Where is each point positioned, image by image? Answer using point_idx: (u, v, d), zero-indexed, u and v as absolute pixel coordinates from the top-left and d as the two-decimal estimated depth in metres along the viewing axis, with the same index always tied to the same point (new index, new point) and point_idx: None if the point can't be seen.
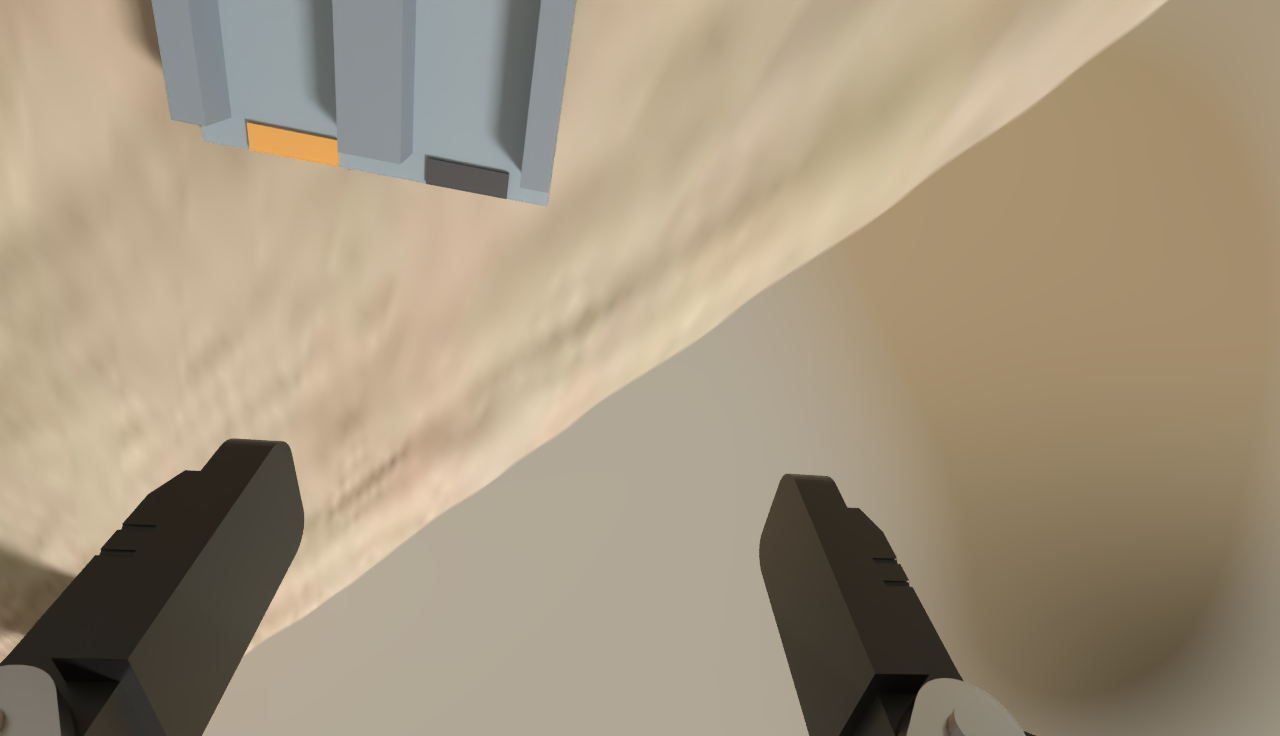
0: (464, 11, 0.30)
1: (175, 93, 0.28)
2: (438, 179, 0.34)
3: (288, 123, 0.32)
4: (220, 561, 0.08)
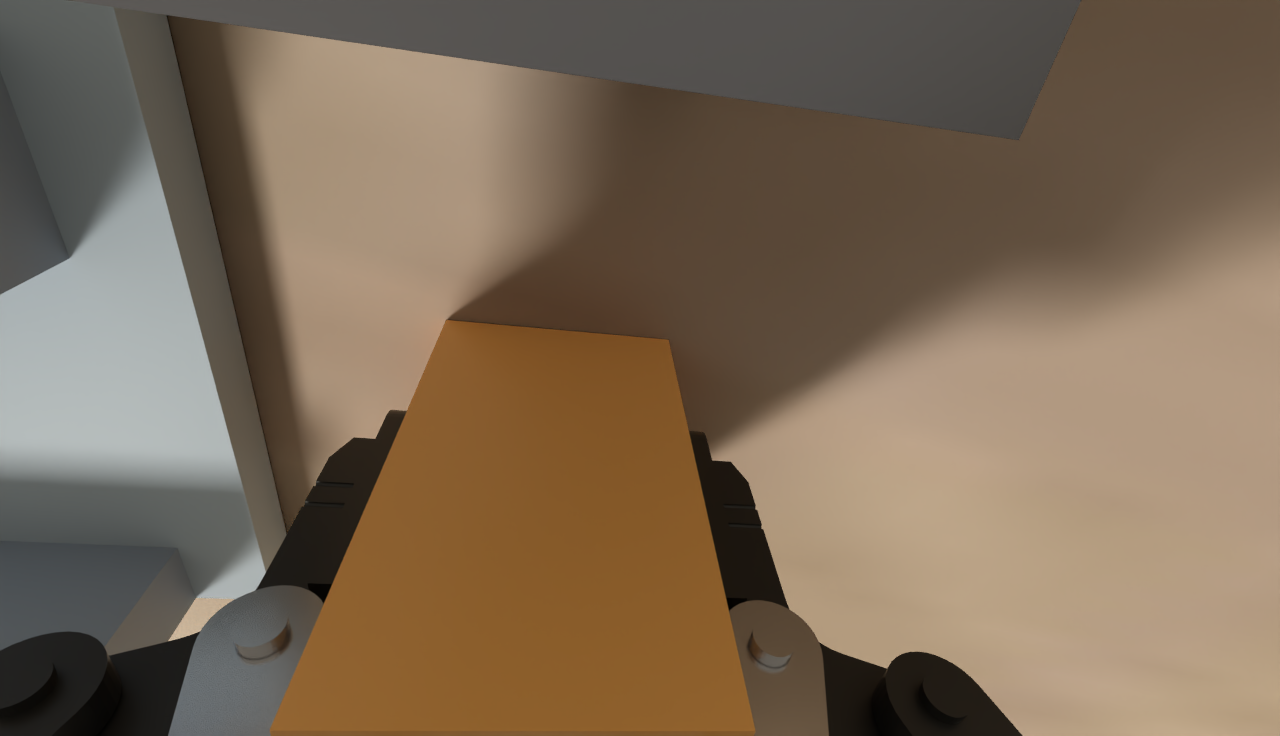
0: None
1: None
2: None
3: None
4: None
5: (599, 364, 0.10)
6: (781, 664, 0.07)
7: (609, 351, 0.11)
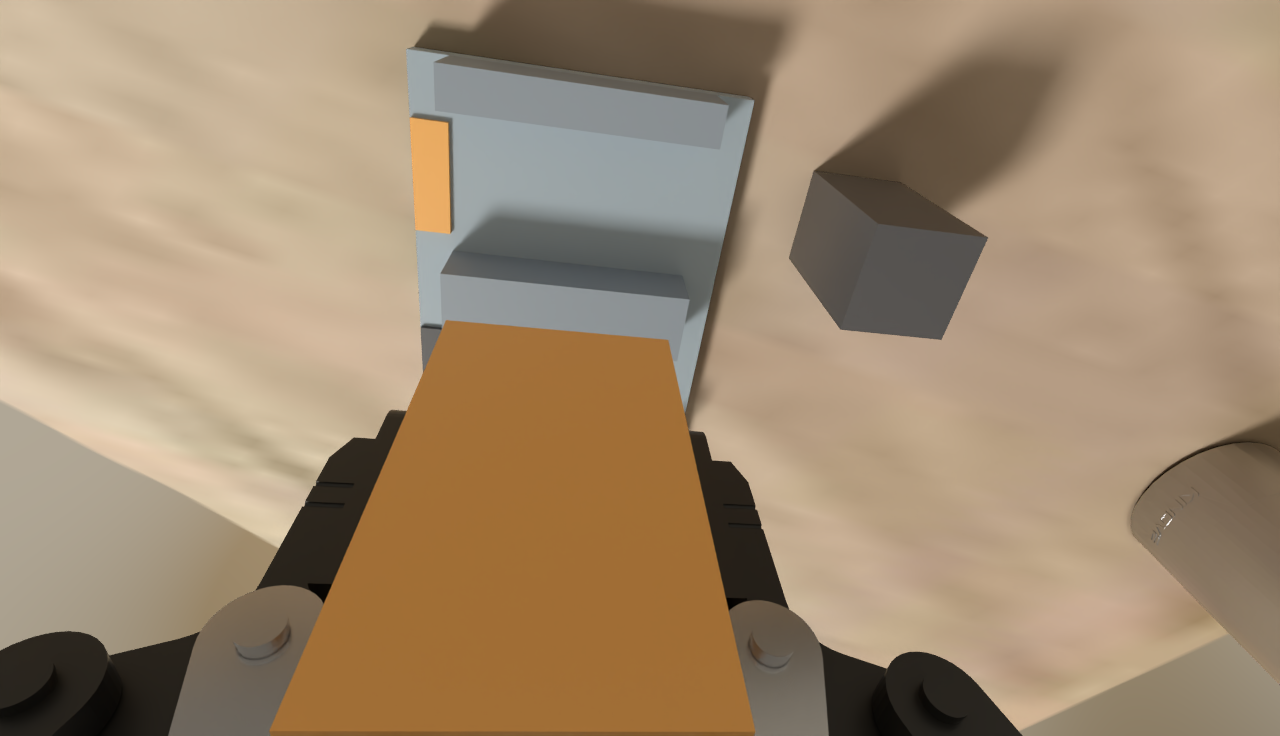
0: None
1: (472, 79, 0.20)
2: (429, 341, 0.28)
3: (458, 174, 0.24)
4: None
5: (599, 364, 0.10)
6: (781, 664, 0.07)
7: (609, 351, 0.11)
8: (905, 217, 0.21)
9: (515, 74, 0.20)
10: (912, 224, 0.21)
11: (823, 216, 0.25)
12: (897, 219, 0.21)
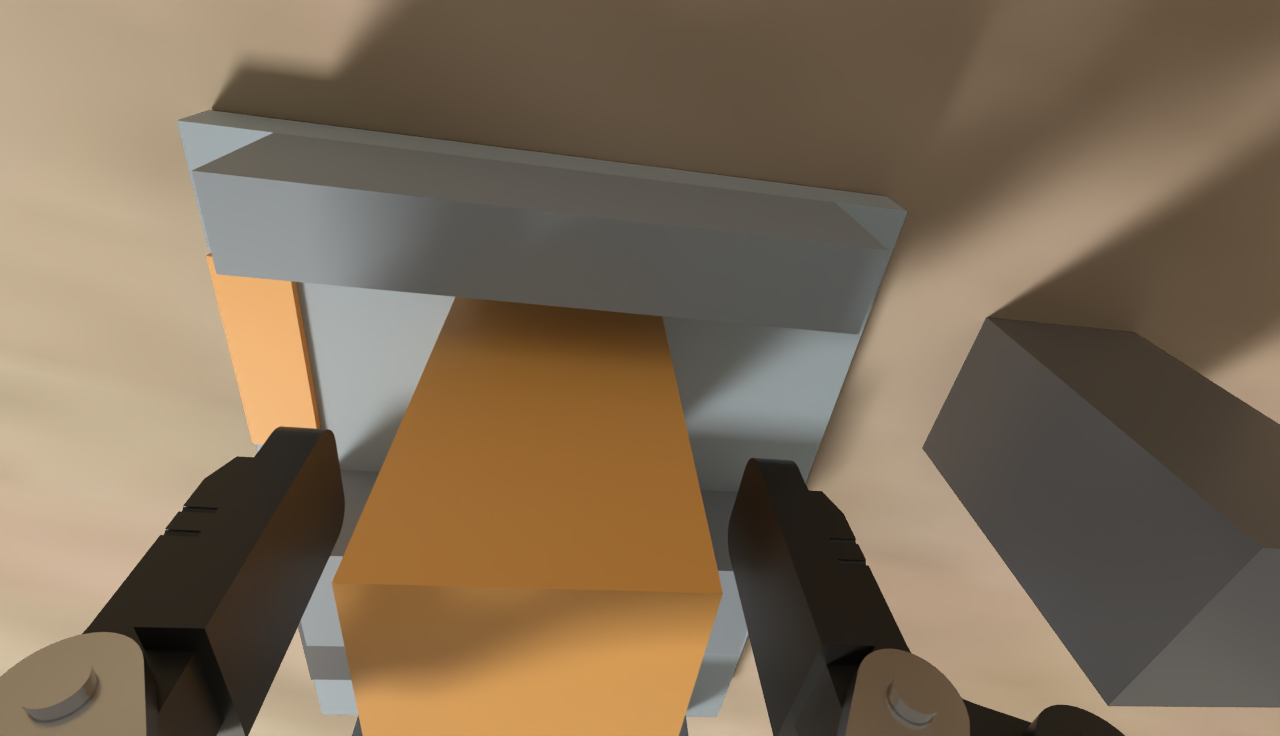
0: None
1: (295, 208, 0.08)
2: None
3: (323, 349, 0.12)
4: (277, 541, 0.08)
5: (597, 324, 0.11)
6: (928, 721, 0.06)
7: (606, 313, 0.12)
8: (1272, 491, 0.10)
9: (398, 194, 0.08)
10: None
11: (1026, 422, 0.13)
12: (1270, 507, 0.09)
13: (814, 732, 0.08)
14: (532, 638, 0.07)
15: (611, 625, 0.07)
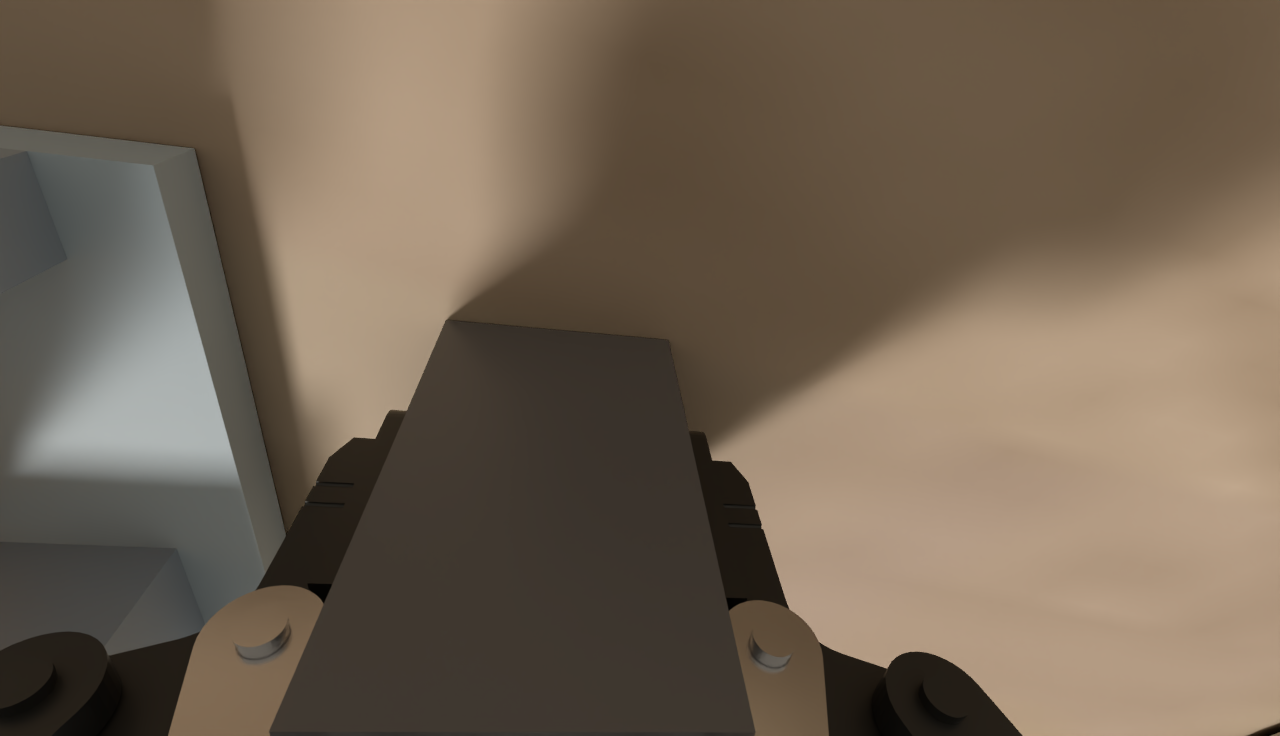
0: None
1: None
2: None
3: None
4: None
5: None
6: (781, 664, 0.07)
7: None
8: (492, 602, 0.06)
9: None
10: (466, 679, 0.05)
11: None
12: (433, 637, 0.06)
13: None
14: None
15: None
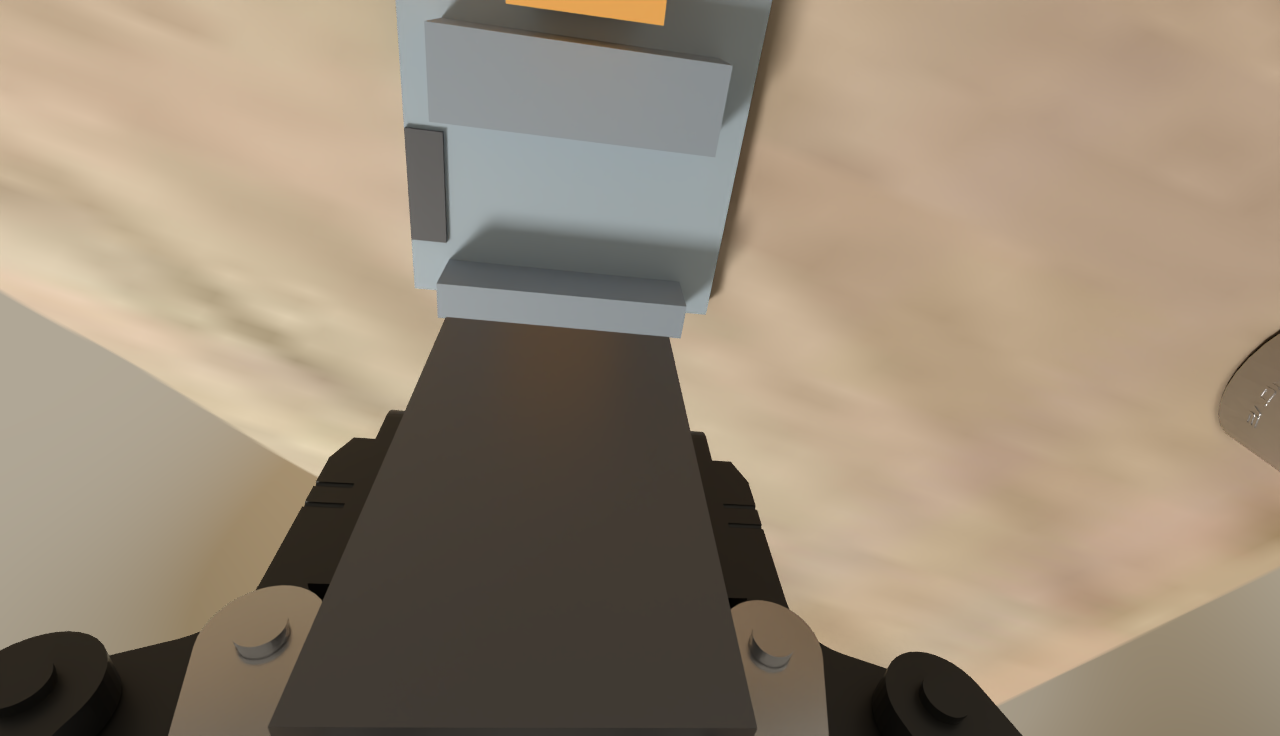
0: (629, 191, 0.25)
1: None
2: (415, 147, 0.23)
3: None
4: None
5: None
6: (781, 664, 0.07)
7: None
8: (492, 597, 0.06)
9: None
10: (465, 675, 0.05)
11: None
12: (433, 632, 0.06)
13: None
14: None
15: None
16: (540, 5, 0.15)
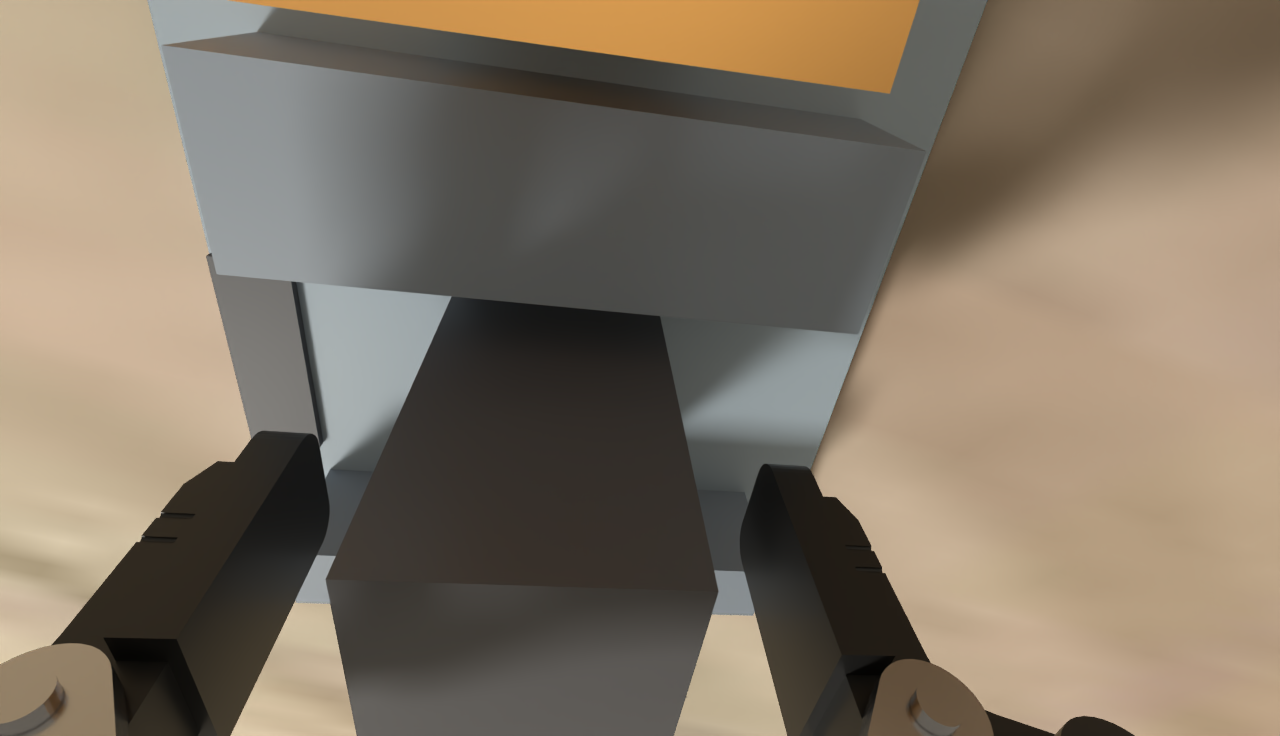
0: None
1: None
2: (235, 290, 0.11)
3: None
4: (256, 548, 0.08)
5: None
6: (952, 733, 0.06)
7: None
8: (502, 497, 0.07)
9: None
10: (481, 549, 0.07)
11: None
12: (454, 520, 0.07)
13: None
14: None
15: None
16: (384, 10, 0.04)
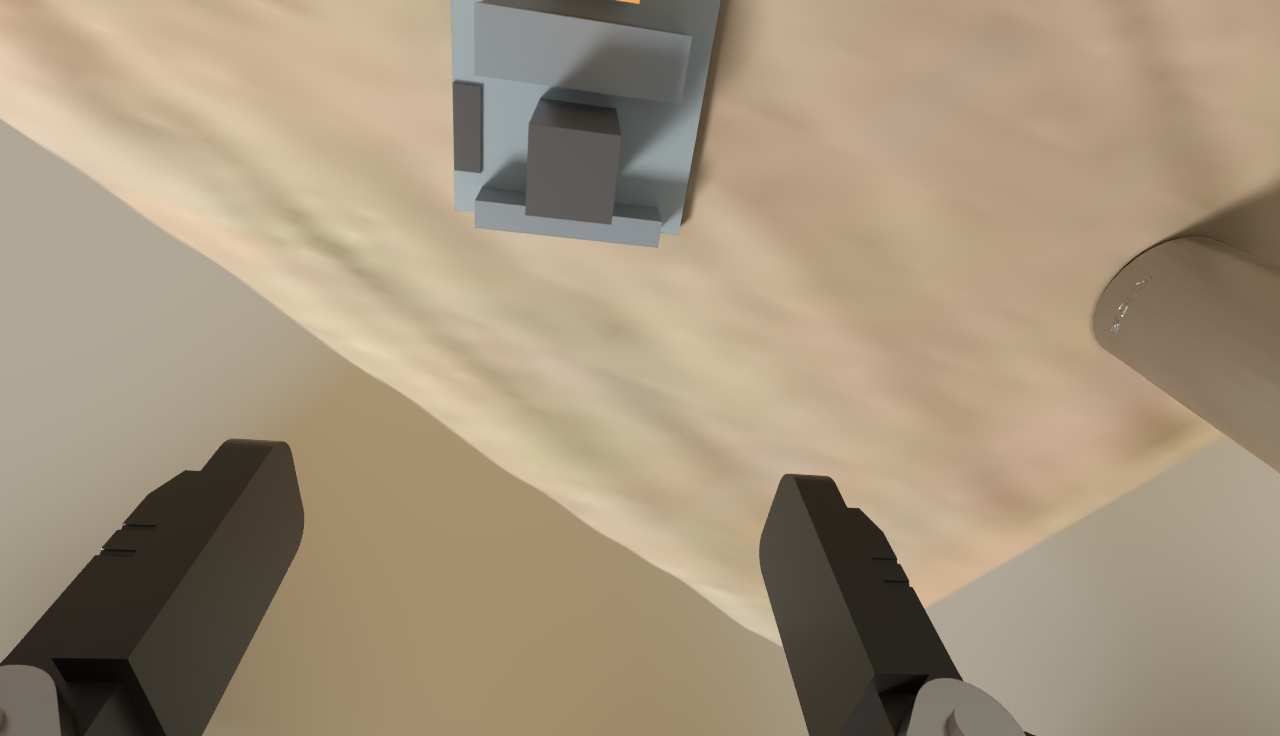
0: None
1: None
2: (460, 97, 0.31)
3: None
4: (220, 560, 0.08)
5: None
6: None
7: None
8: (566, 123, 0.27)
9: None
10: (563, 126, 0.26)
11: None
12: (555, 123, 0.27)
13: None
14: None
15: None
16: None
